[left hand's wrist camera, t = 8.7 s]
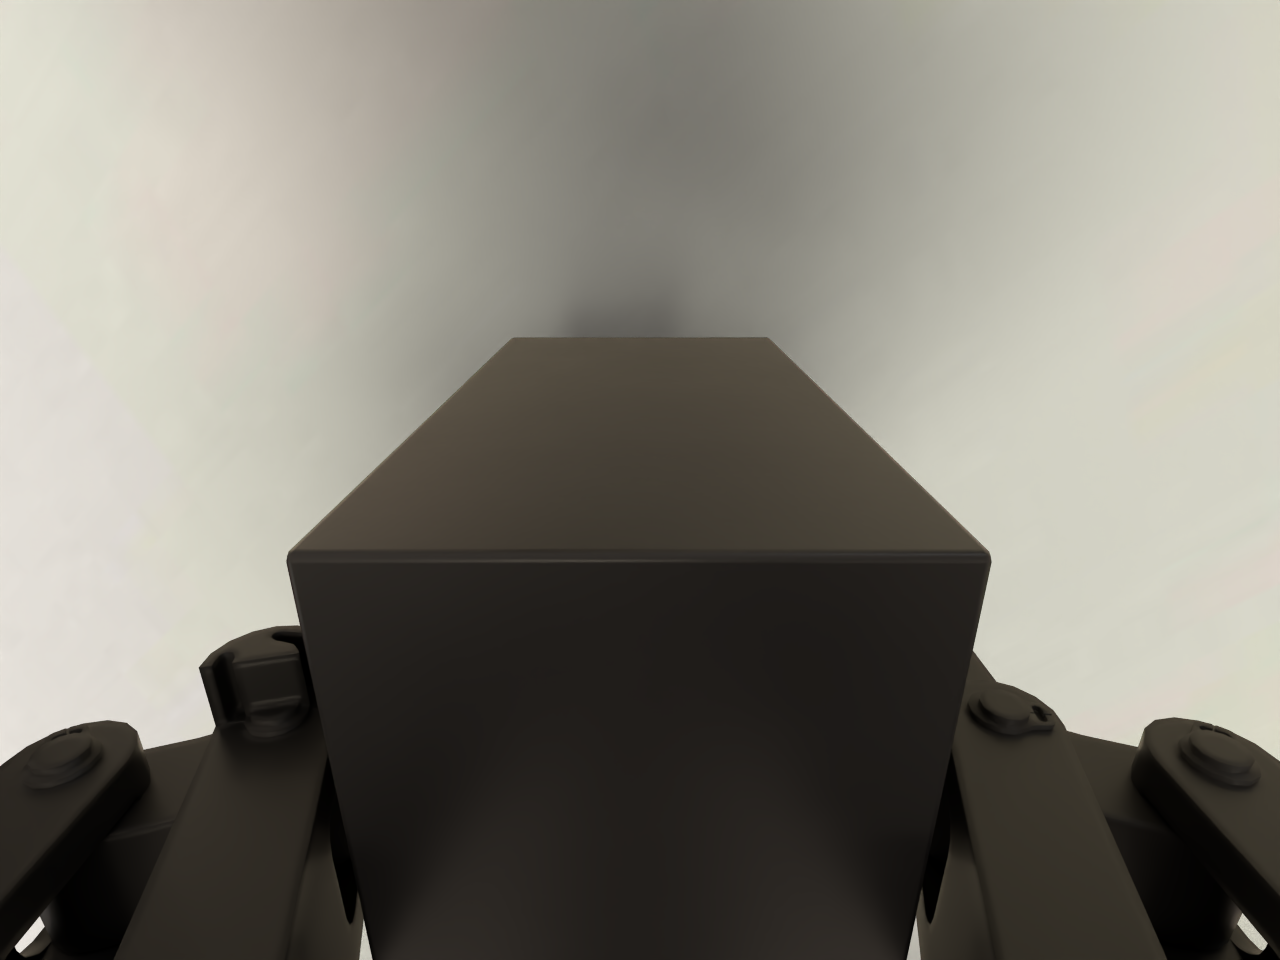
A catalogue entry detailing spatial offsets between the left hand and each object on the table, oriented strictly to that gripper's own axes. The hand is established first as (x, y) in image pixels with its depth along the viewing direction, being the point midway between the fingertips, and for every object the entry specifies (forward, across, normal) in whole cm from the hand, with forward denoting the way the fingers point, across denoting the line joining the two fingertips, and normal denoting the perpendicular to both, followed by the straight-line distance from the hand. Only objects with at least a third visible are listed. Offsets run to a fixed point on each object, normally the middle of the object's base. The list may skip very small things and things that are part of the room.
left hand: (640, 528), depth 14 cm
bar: (+1, 0, -10) cm, 10 cm away
